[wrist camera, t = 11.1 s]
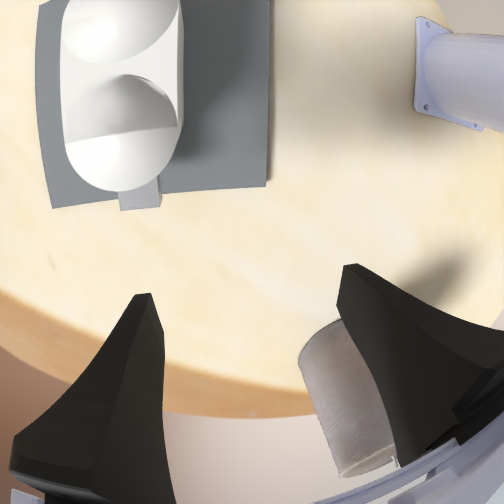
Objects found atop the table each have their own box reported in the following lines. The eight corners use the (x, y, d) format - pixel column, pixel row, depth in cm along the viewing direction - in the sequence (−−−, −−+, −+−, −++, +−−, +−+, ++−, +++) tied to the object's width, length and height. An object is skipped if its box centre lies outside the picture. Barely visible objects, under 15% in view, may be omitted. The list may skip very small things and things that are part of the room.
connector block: (185, -1, 11) (182, -45, 6) (186, 182, 16) (184, 226, 11) (106, 10, 10) (68, -22, 5) (114, 189, 16) (82, 236, 11)
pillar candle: (381, 348, 31) (439, 446, 19) (310, 384, 32) (351, 492, 19) (371, 299, 26) (456, 423, 13) (282, 345, 27) (334, 489, 14)
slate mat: (267, -24, 11) (270, -28, 10) (263, 183, 18) (266, 186, 17) (43, 7, 8) (39, 5, 8) (55, 205, 16) (52, 208, 15)
